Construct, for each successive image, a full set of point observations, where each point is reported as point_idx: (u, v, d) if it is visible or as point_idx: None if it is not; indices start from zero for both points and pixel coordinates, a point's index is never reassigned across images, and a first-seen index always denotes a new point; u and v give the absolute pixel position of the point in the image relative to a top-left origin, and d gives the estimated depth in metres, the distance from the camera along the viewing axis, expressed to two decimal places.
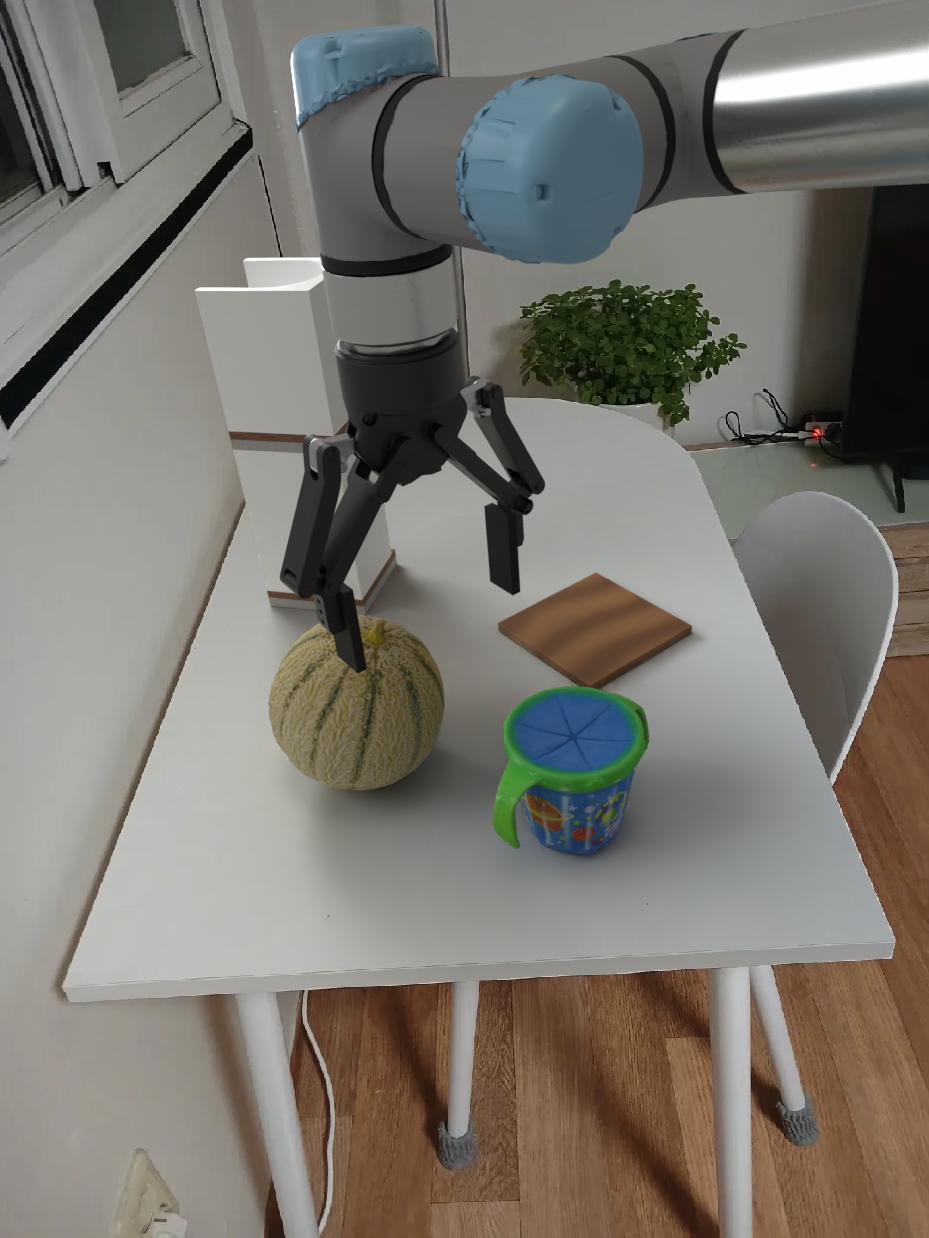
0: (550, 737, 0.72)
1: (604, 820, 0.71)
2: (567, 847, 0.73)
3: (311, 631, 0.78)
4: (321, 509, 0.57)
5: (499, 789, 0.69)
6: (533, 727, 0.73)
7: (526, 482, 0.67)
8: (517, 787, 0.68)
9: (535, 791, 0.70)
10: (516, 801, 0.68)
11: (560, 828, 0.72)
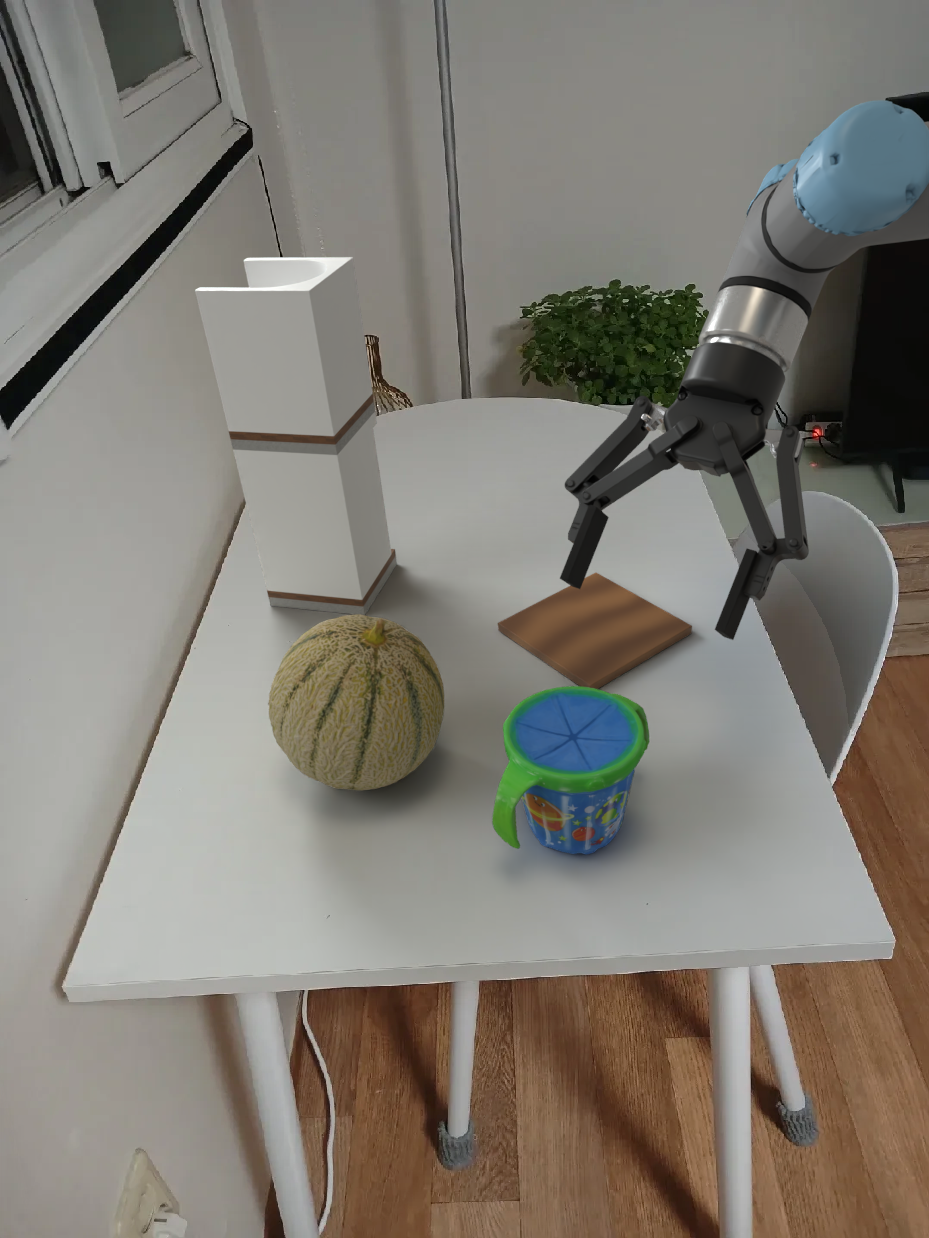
0: (550, 737, 0.72)
1: (604, 820, 0.71)
2: (567, 847, 0.73)
3: (311, 631, 0.78)
4: (613, 434, 0.78)
5: (499, 789, 0.69)
6: (533, 727, 0.73)
7: (784, 532, 0.70)
8: (517, 787, 0.68)
9: (535, 791, 0.70)
10: (516, 801, 0.68)
11: (560, 828, 0.72)
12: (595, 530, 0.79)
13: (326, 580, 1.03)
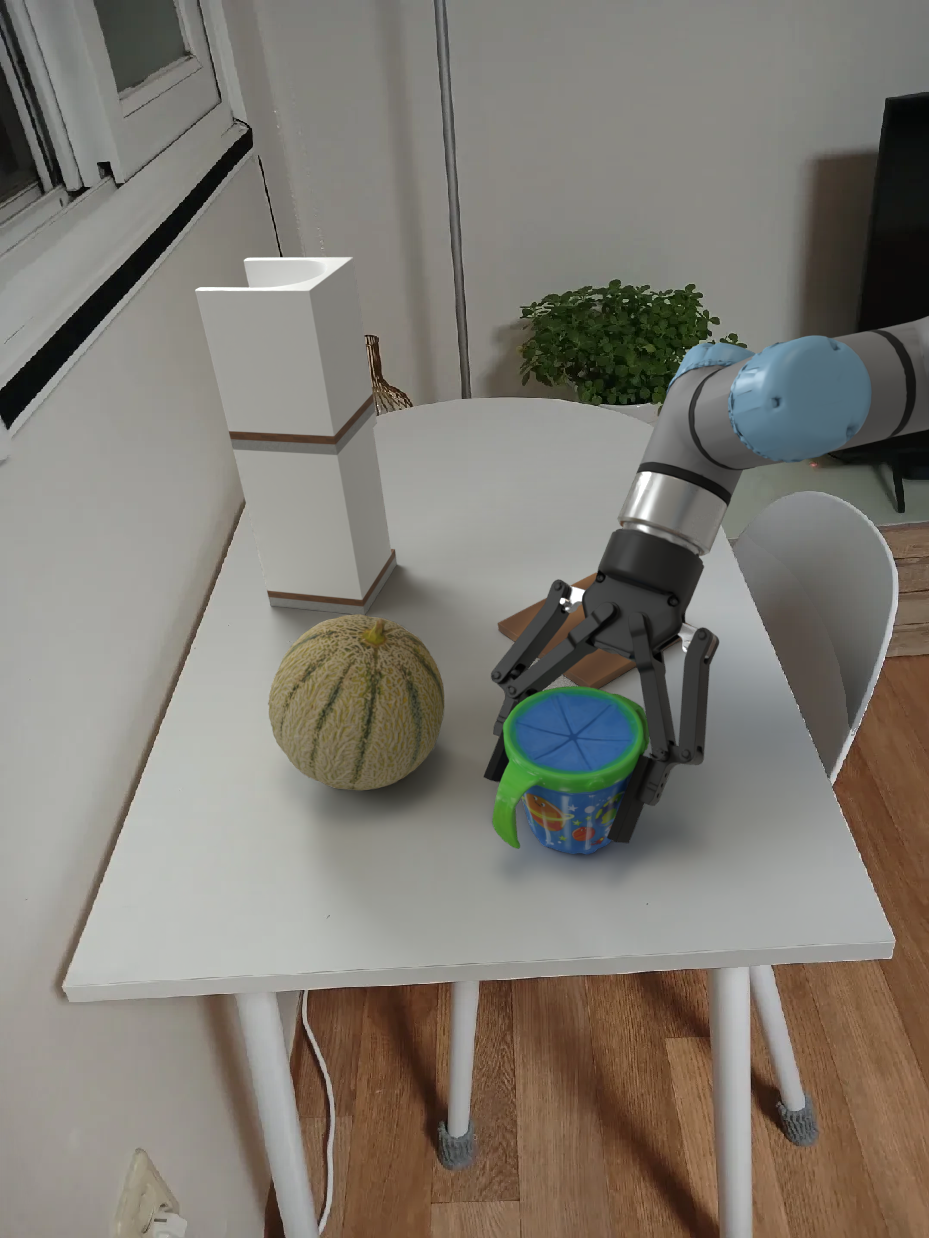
0: (550, 737, 0.72)
1: (604, 820, 0.71)
2: (567, 847, 0.73)
3: (311, 631, 0.78)
4: (534, 621, 0.76)
5: (499, 789, 0.69)
6: (533, 727, 0.73)
7: None
8: (517, 787, 0.68)
9: (535, 791, 0.70)
10: (516, 801, 0.68)
11: (561, 828, 0.72)
12: None
13: (326, 580, 1.03)
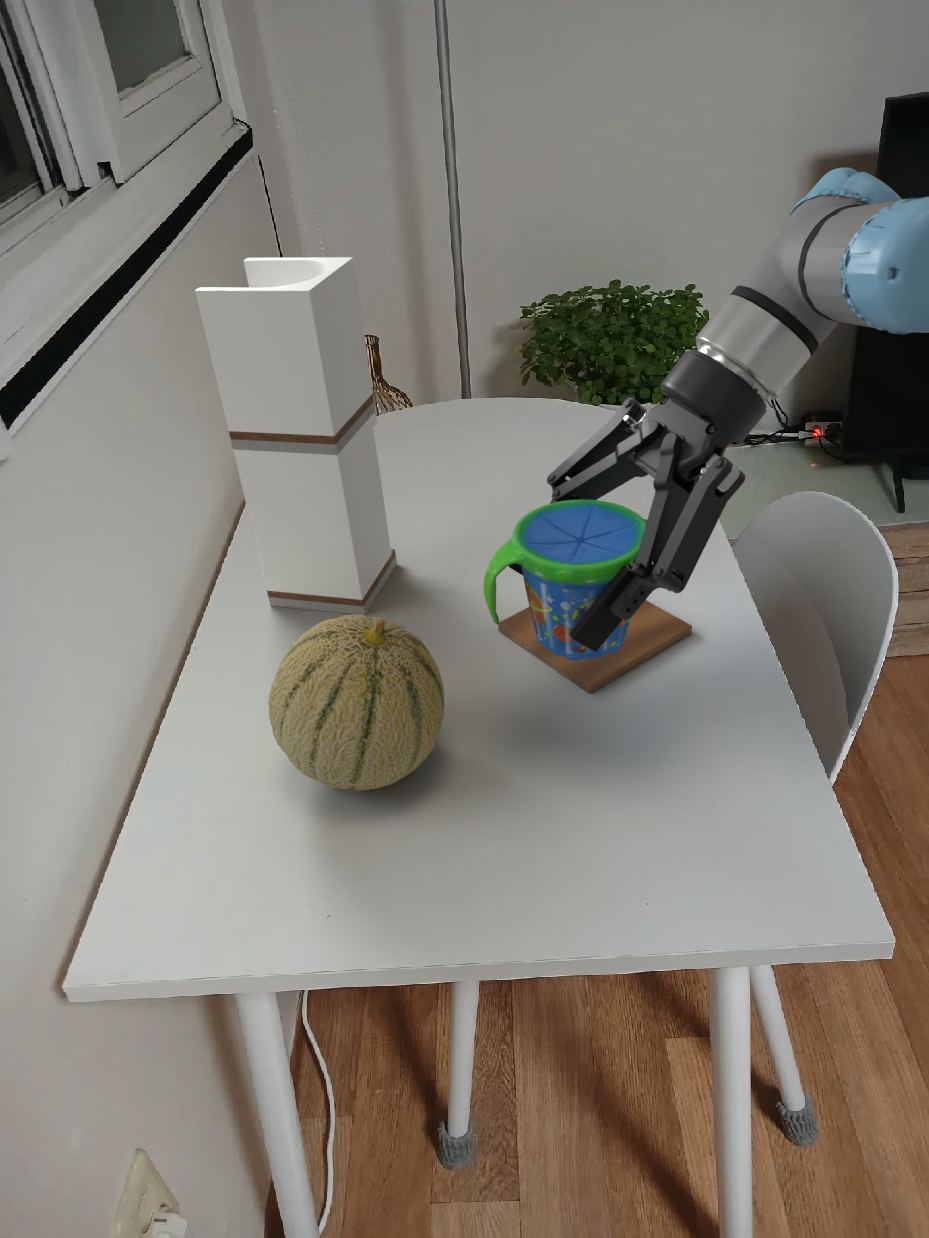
0: (560, 535, 0.74)
1: None
2: (551, 646, 0.76)
3: (311, 631, 0.78)
4: (597, 433, 0.78)
5: (490, 561, 0.74)
6: (551, 523, 0.75)
7: (660, 558, 0.68)
8: (501, 561, 0.72)
9: (525, 575, 0.74)
10: (496, 573, 0.72)
11: (543, 621, 0.75)
12: None
13: (326, 580, 1.03)
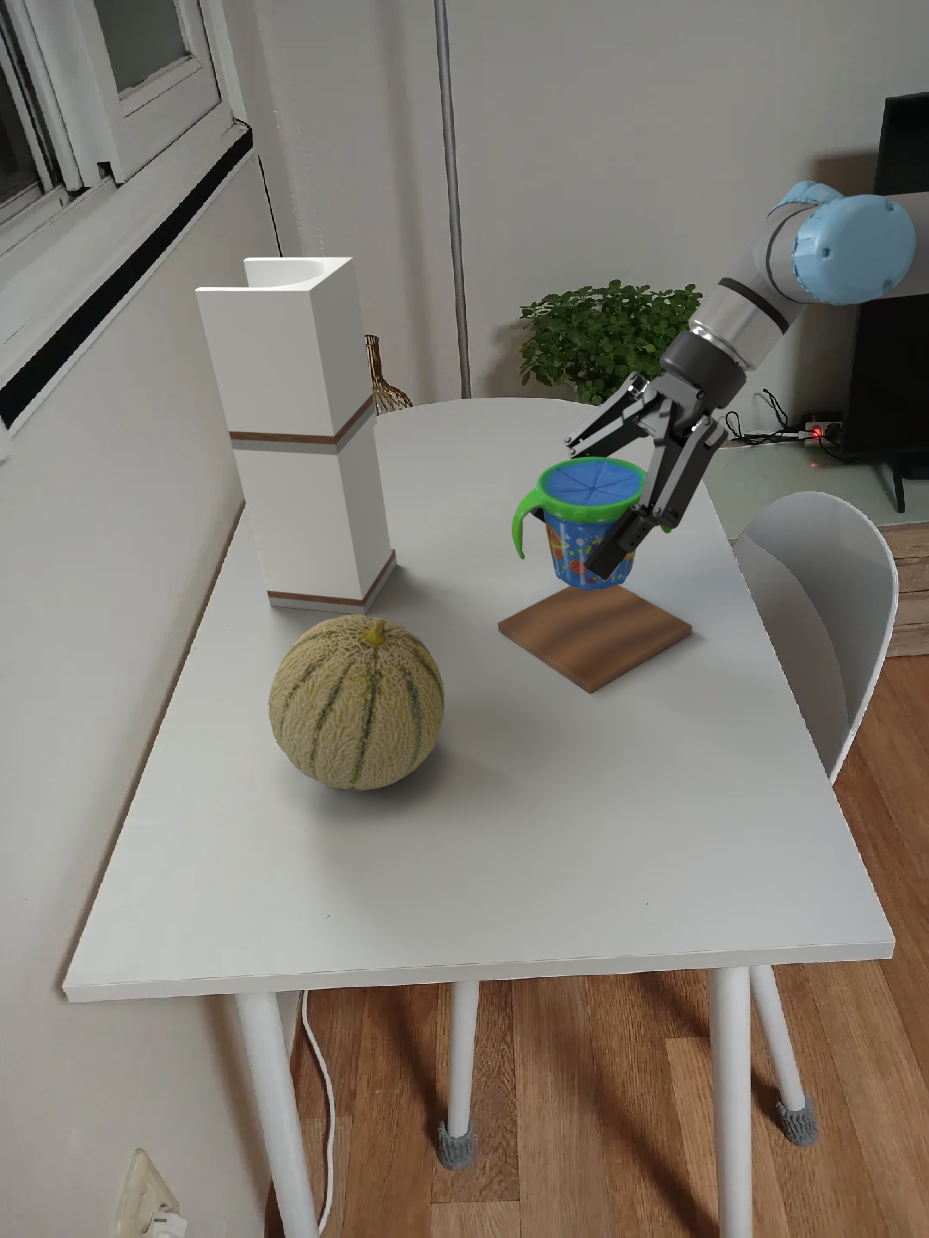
0: (575, 485, 0.89)
1: None
2: (568, 578, 0.91)
3: (311, 631, 0.78)
4: (607, 402, 0.93)
5: (518, 506, 0.89)
6: (568, 476, 0.90)
7: None
8: (527, 505, 0.87)
9: (546, 518, 0.89)
10: (523, 515, 0.88)
11: (562, 557, 0.90)
12: None
13: (326, 580, 1.03)
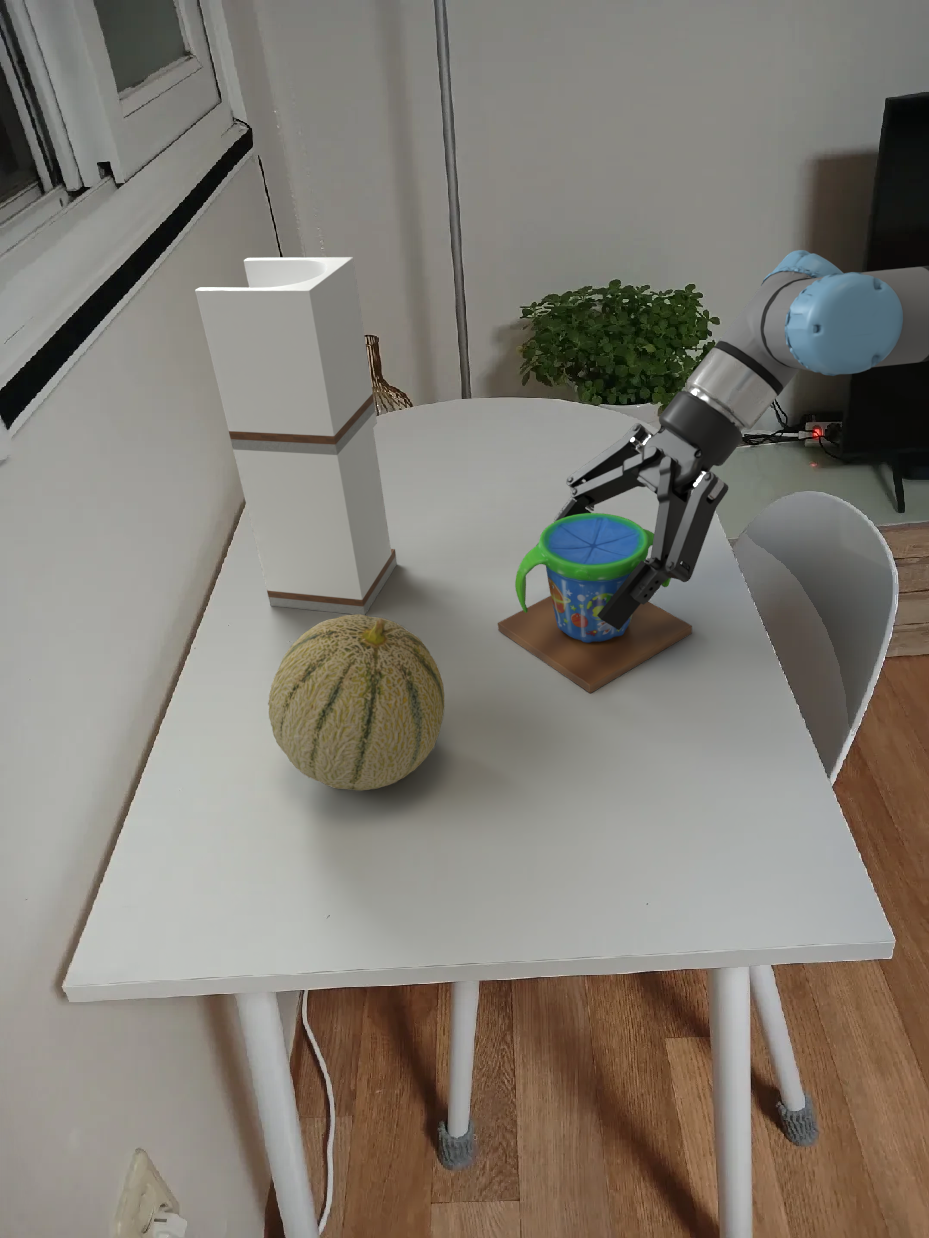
0: (576, 541, 0.93)
1: (595, 614, 0.92)
2: (569, 630, 0.94)
3: (311, 631, 0.78)
4: (609, 449, 0.96)
5: (521, 562, 0.92)
6: (570, 532, 0.94)
7: (670, 554, 0.85)
8: (530, 562, 0.91)
9: (549, 574, 0.92)
10: (526, 571, 0.91)
11: (563, 610, 0.93)
12: None
13: (326, 580, 1.03)
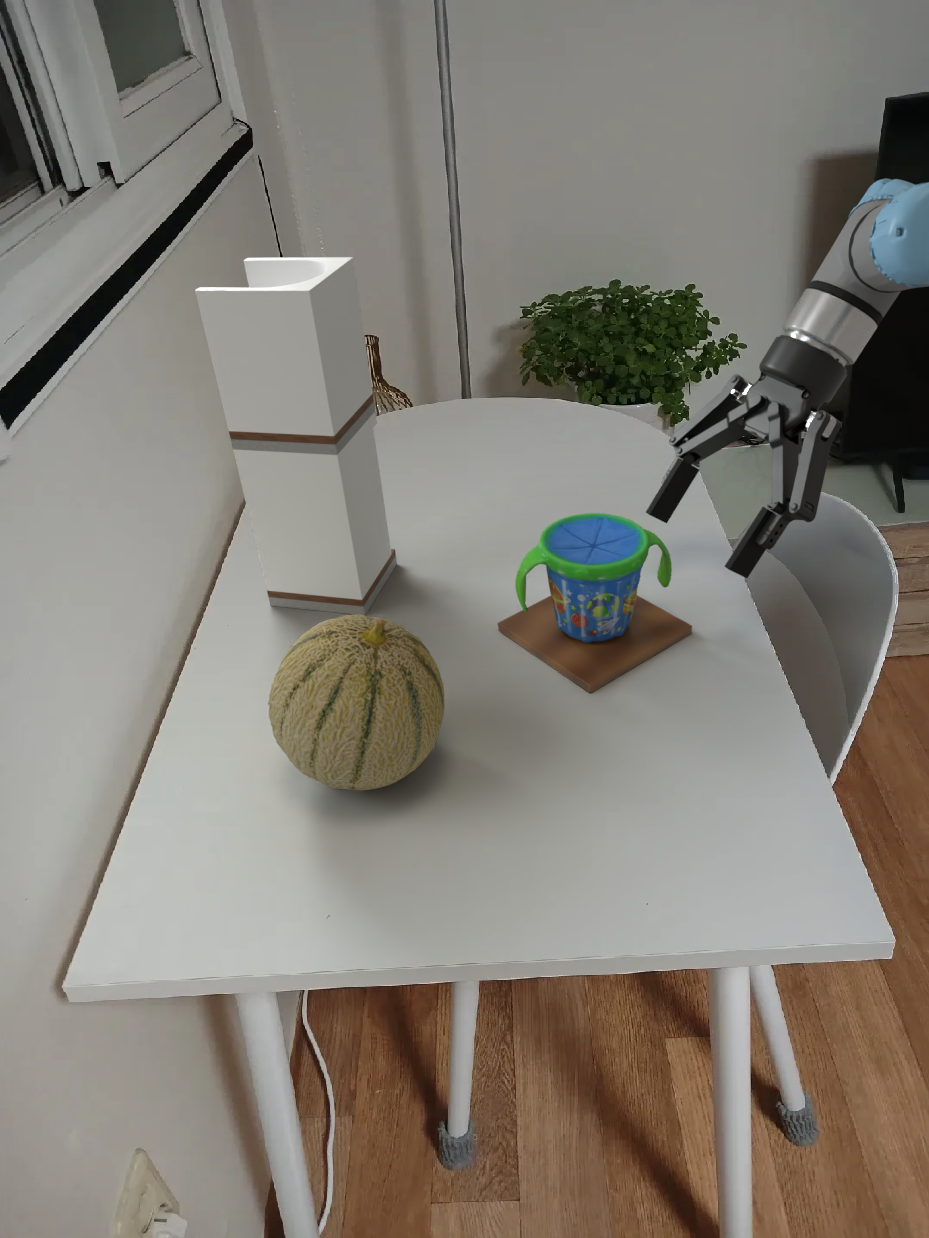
0: (577, 541, 0.93)
1: (595, 614, 0.92)
2: (569, 630, 0.94)
3: (311, 631, 0.78)
4: (709, 403, 0.98)
5: (521, 562, 0.92)
6: (570, 532, 0.94)
7: None
8: (530, 562, 0.91)
9: (549, 574, 0.92)
10: (526, 571, 0.91)
11: (563, 610, 0.93)
12: (682, 478, 0.99)
13: (326, 580, 1.03)
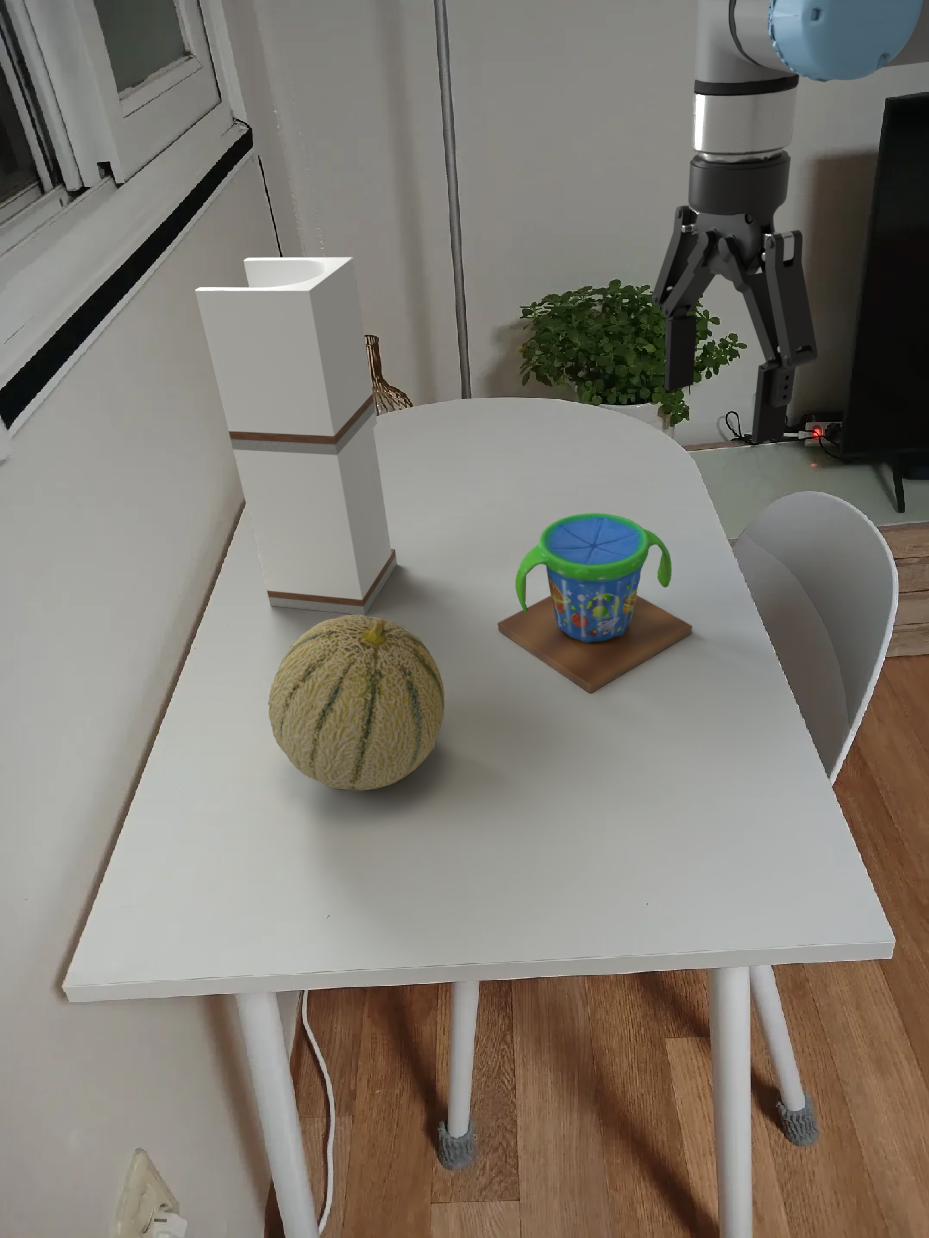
0: (577, 541, 0.93)
1: (595, 614, 0.92)
2: (569, 630, 0.94)
3: (311, 631, 0.78)
4: (669, 249, 0.84)
5: (521, 562, 0.92)
6: (570, 532, 0.94)
7: None
8: (530, 562, 0.91)
9: (549, 574, 0.92)
10: (526, 571, 0.91)
11: (563, 610, 0.93)
12: (683, 337, 0.88)
13: (326, 580, 1.03)
